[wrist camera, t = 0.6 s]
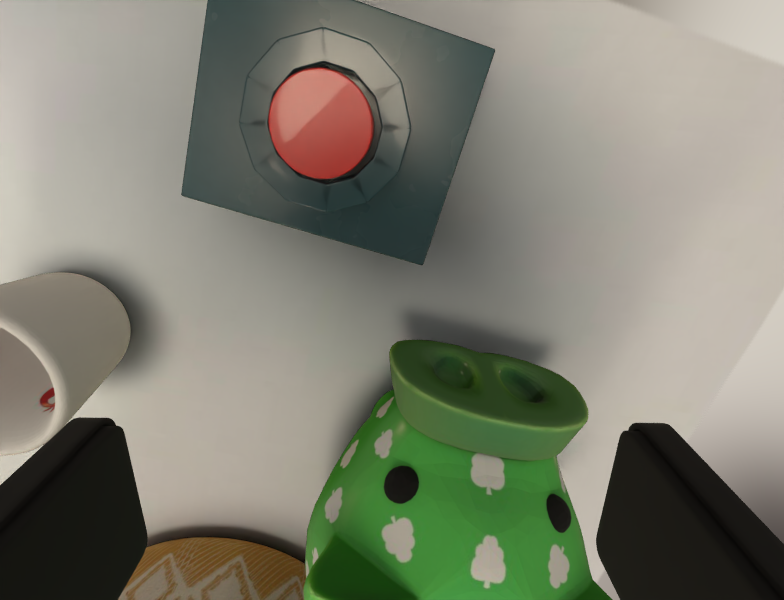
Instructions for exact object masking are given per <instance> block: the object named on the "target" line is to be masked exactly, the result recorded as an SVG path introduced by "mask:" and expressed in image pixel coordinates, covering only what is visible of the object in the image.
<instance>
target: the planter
mask: <svg viewBox="0 0 784 600" xmlns="http://www.w3.org/2000/svg"><path fill="white" fill-rule="evenodd" d="M305 580H306V569H305V564H304V563H302V562H301V561H299V560H297V559H295V558H293V557H291V556H289V555H287V554H285V553H283V552H280V551H278V550H276V549H273V548H270V547H267V546H264V545H260V544H257V543H253V542H248V541H243V540H237V539H229V538H216V537H196V538H184V539H177V540H171V541H166V542H162V543H159V544H155V545H152V546H149V547H146V549H145V552H144V554H143V557H142V558H141V560H140V562H139V564H138V565H137V567H136V569H135V571H134V572H133V574H132V576H131V578H130V579H129V581H128V583H127V585H126V586H125V588H124V590H123V592H122V593H121V595H120V597H119V599H118V600H304V591H303V589H304V584H305Z"/></svg>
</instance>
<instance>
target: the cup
mask: <svg viewBox="0 0 784 600" xmlns="http://www.w3.org/2000/svg"><path fill="white" fill-rule="evenodd" d="M130 335H131V328H130V322H129V318H128V315H127V312H126V310H125V308H124V307H123V305H122V303H121V302H120V301H119V299H118V298H117V297H116V296H115V295H114V294H113V293H112V292H111V291H110V290H109V289H108V288H106V287H105V286H104V285H102V284H101V283H99V282H97V281H95V280H93V279H91V278H89V277H86V276H83V275H79V274H74V273H66V272H55V273H46V274H40V275H36V276H32V277H28V278H24V279H20V280H16V281H13V282H9V283H5V284H1V285H0V456H3V455H15V454H20V453H25V452H28V451H31V450H34V449H36V448H38V447H40V446H42V445H43V444H45V443H47V442H48V441H49V440H50V439H51V438H52V437H53V436H54V435H55V434H57V433H58V432H59V431H60V430H61V429H62V428H63V427H64V426H65V425H66V424H67V422H68V421H69V420H70V419H71V418H72V417H73V416H74V414H75V413H76V412H77V411H78V410H79V409H80V407H81V406H82V405H83V404H84V403H85V402H86V401H87V399H88V398H89V397H90V396H91V395H92V394H93V392H94V391H95V390H96V389H97V388H98V387H99V386H100V384H101V383H102V382H103V381H104V380H105V379H106V378H107V376H108V375H109V374H110V373H111V372H112V371H113V369H114V368H115V367H116V366H117V364H118V363H119V362H120V361H121V359H122V358H123V356H124V354H125V352H126V350H127V348H128V345H129V342H130Z"/></svg>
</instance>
